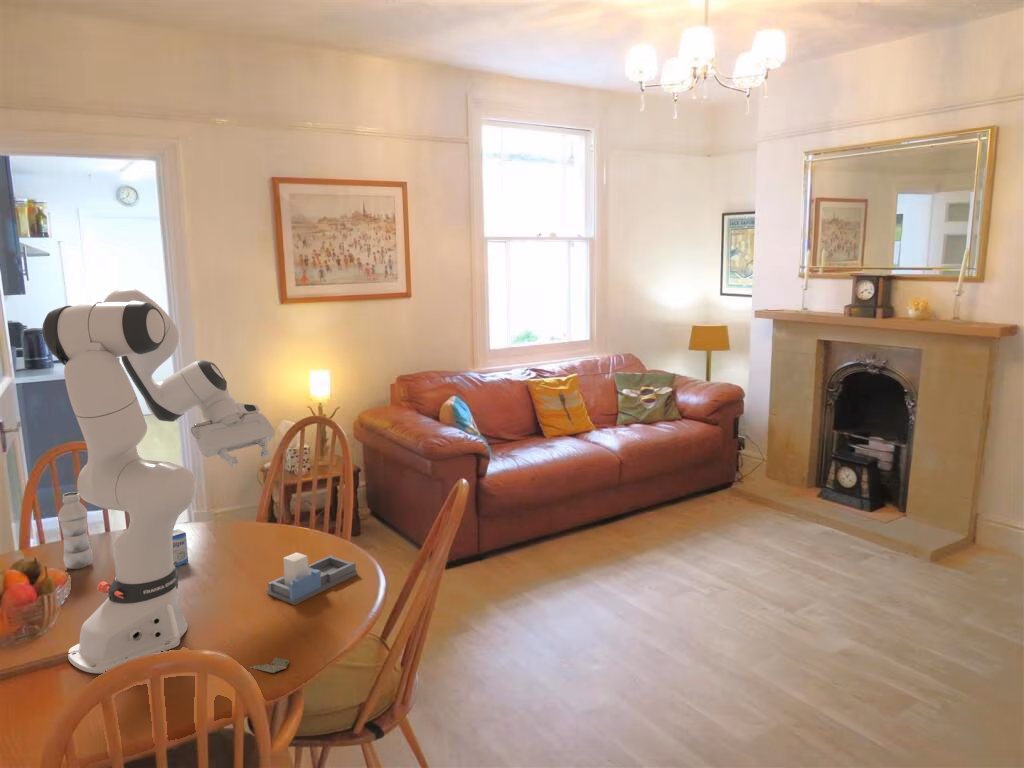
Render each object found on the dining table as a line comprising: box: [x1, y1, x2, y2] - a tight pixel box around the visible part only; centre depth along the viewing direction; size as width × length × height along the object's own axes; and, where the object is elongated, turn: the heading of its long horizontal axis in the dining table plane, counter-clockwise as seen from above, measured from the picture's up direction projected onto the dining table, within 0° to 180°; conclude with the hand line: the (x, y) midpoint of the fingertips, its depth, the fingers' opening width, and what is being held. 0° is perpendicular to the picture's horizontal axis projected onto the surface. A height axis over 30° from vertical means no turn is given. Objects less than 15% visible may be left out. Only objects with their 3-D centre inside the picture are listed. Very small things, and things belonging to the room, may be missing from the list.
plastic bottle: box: [57, 491, 94, 570], centre depth 185 cm, size 6×7×20 cm
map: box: [233, 643, 290, 674], centre depth 145 cm, size 5×20×1 cm, turn 64°
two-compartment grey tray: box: [266, 554, 358, 606], centre depth 177 cm, size 20×11×6 cm, turn 146°
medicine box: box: [172, 529, 189, 568], centre depth 187 cm, size 8×4×9 cm, turn 143°
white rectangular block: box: [283, 552, 309, 587], centre depth 172 cm, size 4×4×8 cm
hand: (251, 460), depth 181 cm, fingers open, 8 cm apart
